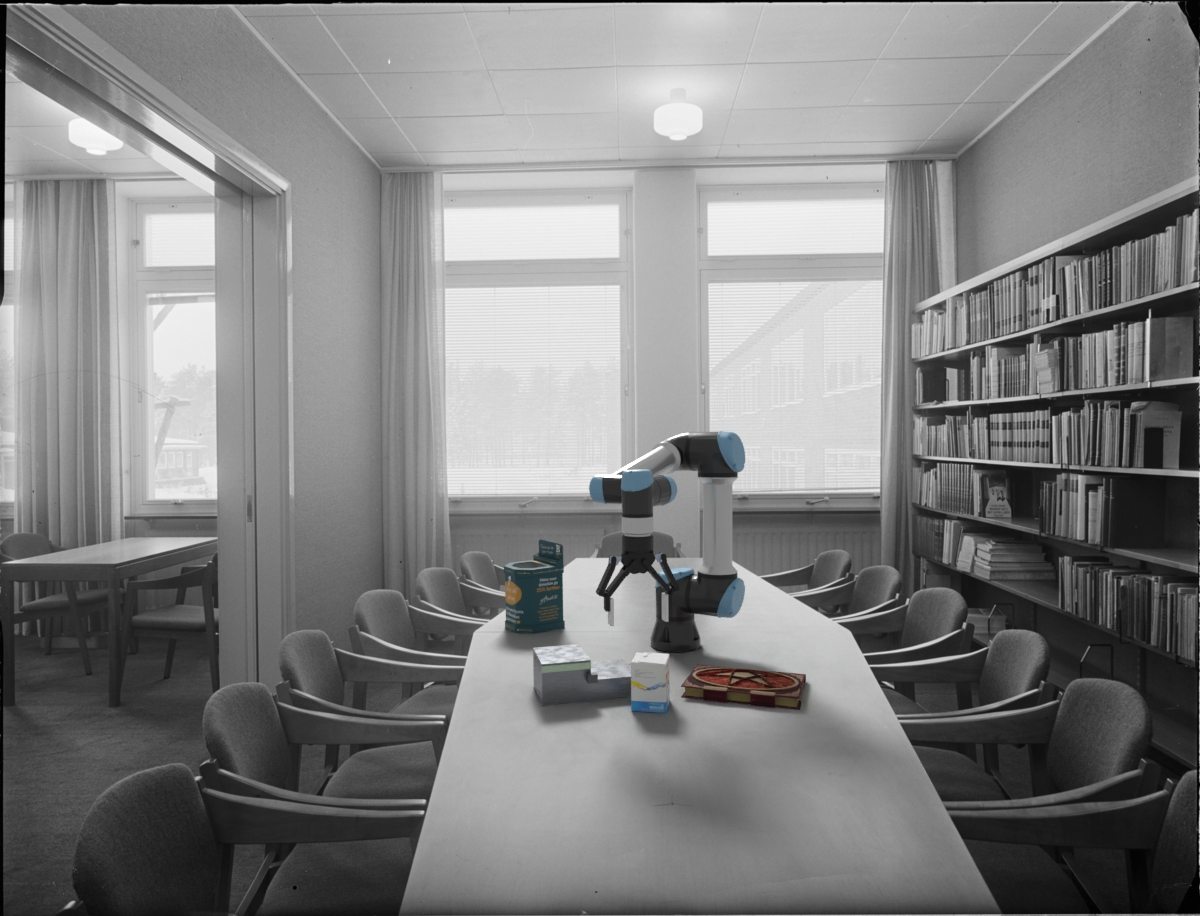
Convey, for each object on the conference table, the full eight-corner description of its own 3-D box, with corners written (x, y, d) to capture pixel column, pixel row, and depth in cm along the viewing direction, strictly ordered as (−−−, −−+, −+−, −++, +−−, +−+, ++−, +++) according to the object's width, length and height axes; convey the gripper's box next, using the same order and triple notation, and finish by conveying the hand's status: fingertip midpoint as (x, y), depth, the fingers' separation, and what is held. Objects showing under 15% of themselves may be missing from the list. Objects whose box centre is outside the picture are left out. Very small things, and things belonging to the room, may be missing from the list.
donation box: (564, 627, 248) (563, 544, 247) (521, 636, 239) (520, 549, 238) (540, 618, 262) (539, 538, 261) (499, 625, 253) (497, 543, 252)
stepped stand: (623, 677, 198) (623, 640, 198) (641, 698, 182) (640, 658, 182) (533, 686, 192) (533, 647, 192) (543, 708, 177) (543, 667, 176)
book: (805, 686, 193) (805, 666, 193) (799, 713, 173) (799, 691, 173) (697, 675, 202) (697, 657, 202) (680, 700, 182) (679, 680, 182)
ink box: (666, 713, 173) (666, 663, 172) (630, 711, 174) (629, 661, 174) (670, 700, 181) (670, 652, 181) (636, 698, 183) (635, 651, 182)
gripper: (680, 530, 185) (681, 615, 185) (583, 534, 178) (584, 622, 179) (692, 533, 177) (692, 622, 178) (590, 538, 171) (591, 630, 172)
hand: (638, 622), depth 179 cm, fingers open, 13 cm apart
